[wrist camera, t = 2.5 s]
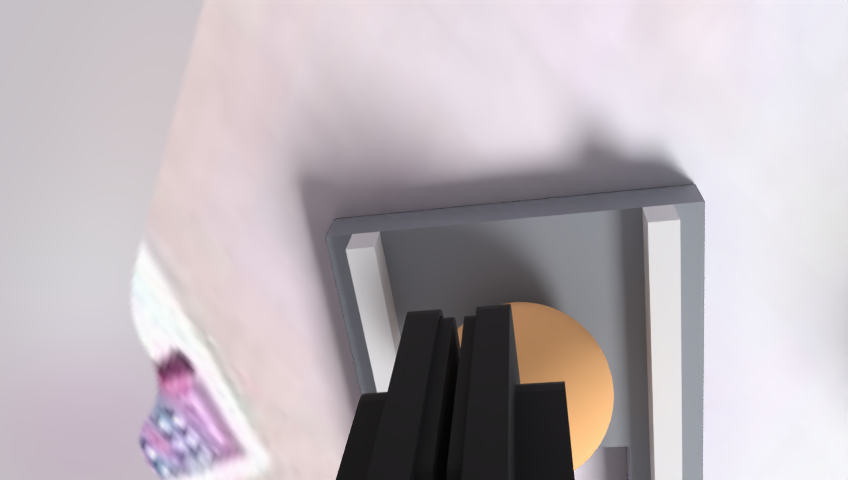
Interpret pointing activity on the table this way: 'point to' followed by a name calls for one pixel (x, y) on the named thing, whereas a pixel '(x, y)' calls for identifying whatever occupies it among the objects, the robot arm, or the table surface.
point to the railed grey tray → (552, 296)
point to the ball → (565, 370)
